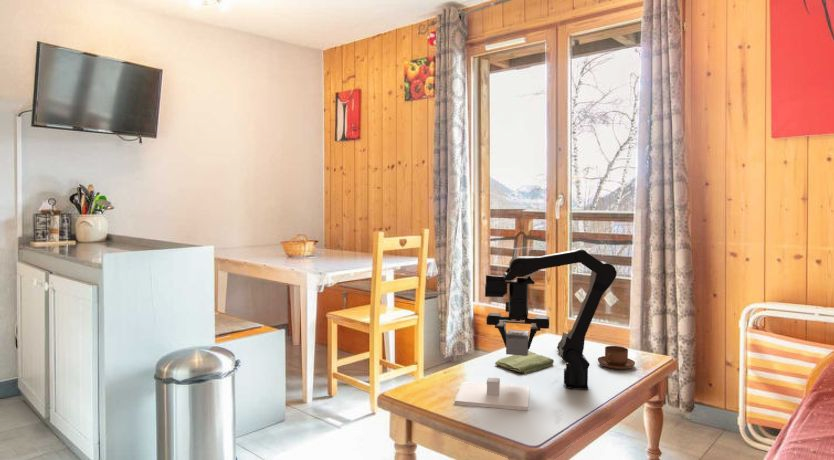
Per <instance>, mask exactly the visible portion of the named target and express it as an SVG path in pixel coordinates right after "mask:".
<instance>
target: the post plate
mask: <svg viewBox="0 0 834 460" xmlns="http://www.w3.org/2000/svg"><path fill="white" fill-rule="evenodd" d="M529 397H530V386H523V385H511V384H501V379H500V377H499V378H497V377H487V379H486V383H484V382H474V381H473V382H470V381H462V382H461V385H460V387H459V390H458V391H457V394H456V396H455V399H454V405H460V406H471V407H483V408H484V407H485V408H492V409H493V408H495V409H506V410H518V411H529V399H530V398H529Z"/></svg>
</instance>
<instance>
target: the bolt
mask: <svg viewBox="0 0 834 460" xmlns="http://www.w3.org/2000/svg"><path fill="white" fill-rule="evenodd" d="M559 347H560V346H559V344H558V343H557V346H556V349H557V351H558V352H559V356H560V357H561V358H562V361H563V362H565V363H567V362H566V361H565V360H564V359H563V357H562V355H561V353H560V350H559Z"/></svg>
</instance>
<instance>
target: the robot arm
mask: <svg viewBox="0 0 834 460" xmlns="http://www.w3.org/2000/svg"><path fill="white" fill-rule="evenodd" d="M573 264H582V265H583V266H584V267H586V268H587V269H589V270H590V277H589V285H588V286H589V287H588V290H587V292H586V294H585V298H584V299H583V302H582V304H581V306H580V309H579V311H578V313H577V317H576V319H575V321H574V323H573V325H572V328H571V330H570V331H569V332H568V333H566V332H564V331H563V332H562V335H561V339H560V341H559V342H558V343H557V345H558V344H559V346H560V347H559V350H560V352H559V354H560V353H561V355H562V357H563V359H564V360H565V361H566V362H565V363H566V364H565V368H564V369H563V384H564V385H565V388H566V389H576V390H589V386H588V385H589V384H588V383H589V382H588V381H589V376H588V375H589V367H590V363H589V361H588V360H587V358H586V357H585V355H584V354H583V353H584V349H585V339H586V335H587V332H588V330H589V328H590V325H591V323H592V321H593V318H594V316H595V313H596V311H597V309H598V307H599V304H600V302H601V299H602V297H603V295H604V294H605V292H606V291H607V290H608V289H609V288H610V287H611V285H612V284H613V282H615V280H616V277H617V274H618V272H617V270H616V267H615V266H614V265H613V264H611V263H608V262H607V261H605V260H601V261H600V260H599V259H597V258H596V257H594V256H593V255H591V254H590V253H588V252H587V251H586V250H584V249H582V248H576V249H574V250H573V249H572V250H568V251H562V252H557V253H552V254H551V253H550V254H546V255H540V256H539V255H537V256H533V255H517V256H514V257H512V258H511V259H510V261H509V264H508V268H507V269H506V270H505V272H504V273H503V274H502V275H494V274H493V275H492V274H486V275H485V284H484V297H485V298H504V296H506V295H508V301H506V302H505V312H506V313H508V316H505V315H504V316H502V313H501V312H489V313H488V314H487V316H486V325H487V326H494V328H495V329H498V331H499V334H500V335H501V337H502V340H503V343H504V346H505V347H504V348H506V335H507V323H508V324H525V325H530V330H529V341H528V349H529V350H530V349H531V346H532V345H531V344H532V343H533V339H534V337H535V335H536V333H537V332H541V329H548V330H549V329H550V317H549V315H539V314H537V315H536V317H529V307H528V306H529V304H528V303H529V285H535V284H536V282H535V280H533V279H532V278H531V276H530V275H531V274H534V273H536V272H538V271H541V270H544V269H549V268H557V267H561V266H562V267H564V266H567V265H573ZM514 279H515V280H514ZM508 284H509V285H508ZM562 357H561V358H562ZM563 359H562V360H563Z"/></svg>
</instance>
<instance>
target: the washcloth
mask: <svg viewBox="0 0 834 460" xmlns="http://www.w3.org/2000/svg"><path fill="white" fill-rule="evenodd" d="M554 362H555V361H554V359H553V358H551V357H548V356H545V355H543V354H537V353H536V352H532V351H530V350H529V351H528V356H521V355H508V356H505V357H501V358H499V359H497V361H495V363H494V364H495V365H496V366H497V367H500V368H504V369H506V370H510V371H515V372H518V373H520V374H523V375H526V374H530V373H533V372H535V371H539V370H542V369H545V368H548V367H550V366H553V364H554Z"/></svg>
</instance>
